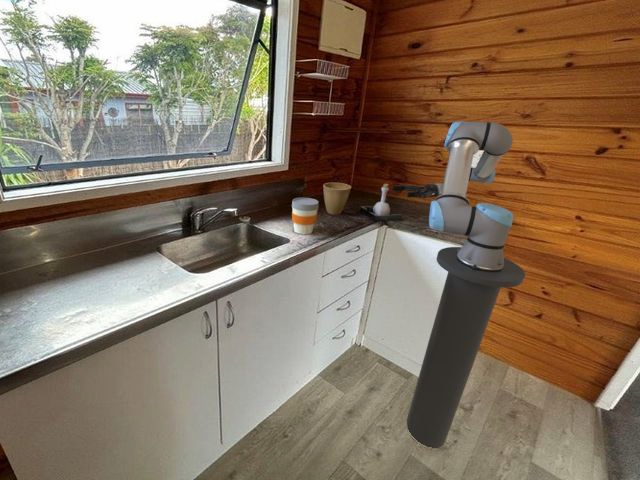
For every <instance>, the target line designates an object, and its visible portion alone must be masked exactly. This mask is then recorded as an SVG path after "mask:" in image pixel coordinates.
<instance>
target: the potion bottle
mask: <svg viewBox="0 0 640 480" xmlns="http://www.w3.org/2000/svg"><path fill="white" fill-rule="evenodd" d="M389 189H390V188H389V183H384V184H383V185H382V187H381V198H380V201H378V202H376V203H375V204H374V205H373V206H374V208H373V211H372V213H373V214H375V215H390V213H391V208H390V205H389V203H387V202H386V200H387V199H386V198H387V193H388V192H389V191H390V190H389Z"/></svg>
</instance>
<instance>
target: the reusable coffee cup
mask: <svg viewBox="0 0 640 480" xmlns="http://www.w3.org/2000/svg"><path fill="white" fill-rule="evenodd" d="M291 202H292V203H291V208H292V211H291V217H292V218H291V219H292V222H293V231H294V233H296V234H300V235H310V234H312V233H313V231H314V226H315V223H316V221H317V218H318V210H319V209H320V207H319V200H317V199H315V198H311V197H295V198H293V199H292V201H291ZM310 231H311V232H310Z"/></svg>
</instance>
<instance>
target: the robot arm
mask: <svg viewBox="0 0 640 480" xmlns="http://www.w3.org/2000/svg"><path fill="white" fill-rule="evenodd" d="M513 139H514V138H513V135H512V133H511V131H510V130H509V129H508V128H507V127H506V126H505V125H503V124H501V123H498V122H493V121H492V122H488V121H487V122H486V121H485V122H483V121H465V120H463V121H454V122H452V124H451V125H450V127H449V129H448V132H447V135H446V138H445V141H444V145H443V147H444V148H445V149H446V150H447V153H448V154H449V156H448V157H449V158H448V161H447V166H446V169H445V173H444V177H443V181H442V183H427V184H425V185H424V186H421V185H411V184H401V185H392V188H391V192H403V191H407V195H406V198H422V199H427V198H435V200H432V201H430V207H429V215H428V225H429V228H430V229H432V230H434V231H439V232H441V233H442V232H444V233H448V234H455V235H460V236H461V235H462V236H467V239H466V241H465V243H464V244H463V245H462V246H461V247H462V248H461V249H457V251H459V252H458V253H457V257H456V258H457V260H458V261H459V262H460V263H462V264H464V265H466V266H468V267H470V268H472V269H473V270H475V269H477V270H481V271H486V272H499V271H501V270H502V269H503V266H504V258H505V257H504V247H505V244H506V241H507V239H508V236H509V233H510V231H511V228H512V226H513V221H514V213H512V211H510V210H509V209H507V208H504V207H502V206H499V205H495V204H491V203H486V202H479V203H477V204H476V206H472V205H470V200H469V199H468V198H467V191H468V186H469V182H471V183H472V182H473V183H480V184H492V183H493V182H494V179H495V177H496V169H495V168H496V167H497V165H498V163H500V161H501V159H502V157H503V156H504V155H506V154H508V152H509V151H510V149H511V148H512V146H513V144H514V143H513V142H514V141H513ZM479 151H483V152H482V154H481V156H480V158H479V159H478V162H477V164H476V166H475V167H474V166H473V167H472V165H473V159H474V155H476V154H477V153H478V152H479Z"/></svg>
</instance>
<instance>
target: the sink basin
mask: <svg viewBox="0 0 640 480" xmlns="http://www.w3.org/2000/svg"><path fill="white" fill-rule="evenodd" d="M374 206H375V205H364V206H360V211H359V212H360V213H362V214H364V215H365V216H366V217H368V218H369V219H370V220H373V221H374V222H381V221H382V222H383V221H401V220H402V219H403V214H402V213H399V214H397V213H396V214H388V215H375V213H374V212H373V208H374ZM372 217H373V218H372ZM374 218H375V219H374Z"/></svg>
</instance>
